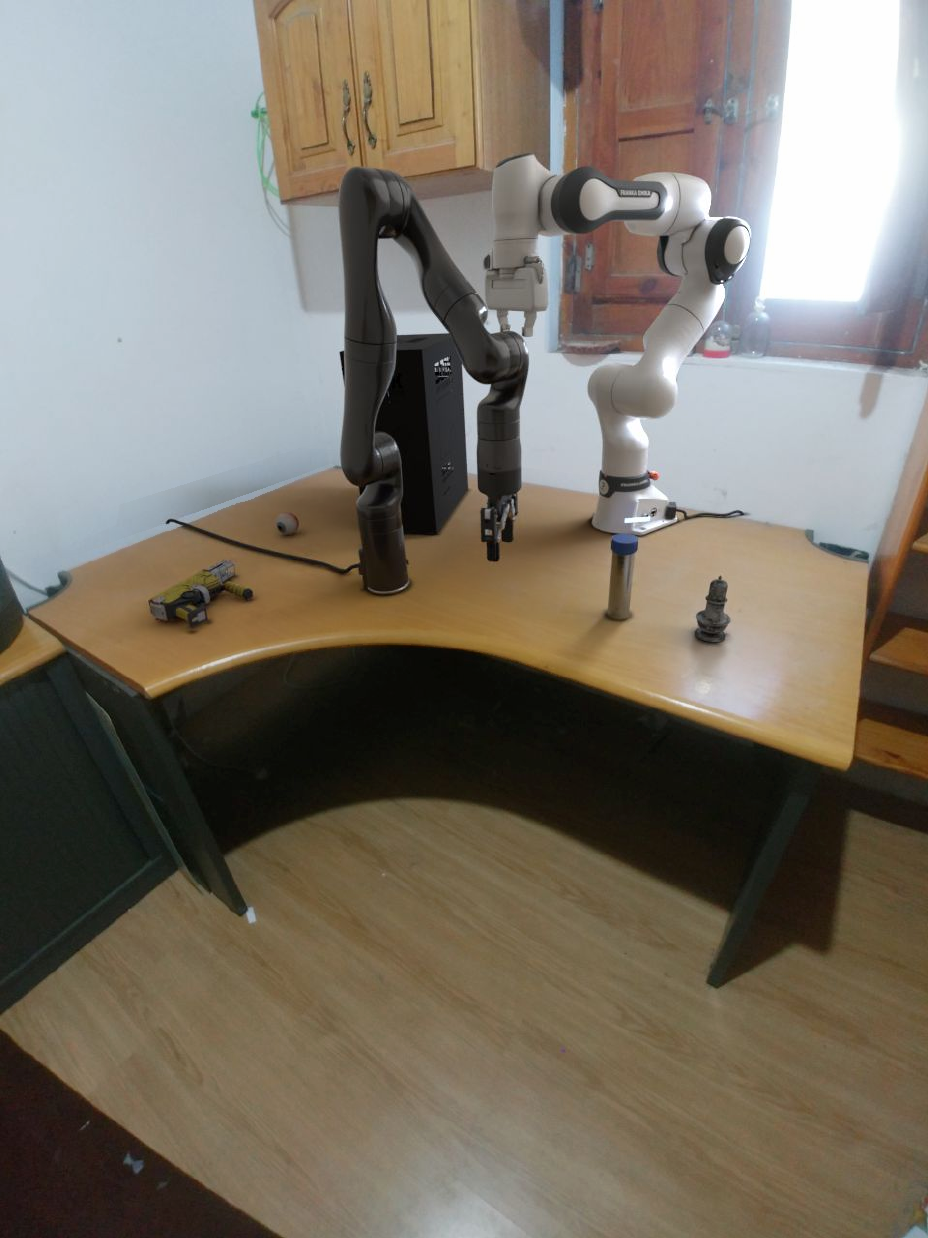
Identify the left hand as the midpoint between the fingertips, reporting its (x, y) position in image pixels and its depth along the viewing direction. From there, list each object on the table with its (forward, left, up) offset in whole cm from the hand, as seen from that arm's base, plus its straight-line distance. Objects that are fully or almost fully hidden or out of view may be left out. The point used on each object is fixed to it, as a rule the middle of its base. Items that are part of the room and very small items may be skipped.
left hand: (500, 550), depth 110 cm
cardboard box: (-43, +57, -16) cm, 73 cm away
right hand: (-7, +36, +32) cm, 49 cm away
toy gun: (-63, -7, -16) cm, 66 cm away
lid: (+21, +10, 0) cm, 23 cm away
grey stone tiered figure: (+38, +6, -16) cm, 41 cm away
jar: (+21, +9, -16) cm, 28 cm away
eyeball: (-70, +31, -16) cm, 78 cm away
